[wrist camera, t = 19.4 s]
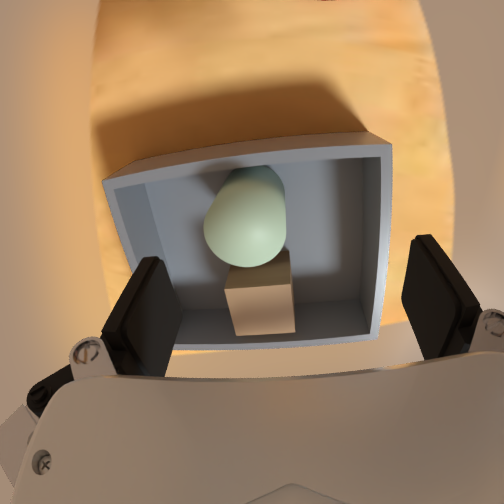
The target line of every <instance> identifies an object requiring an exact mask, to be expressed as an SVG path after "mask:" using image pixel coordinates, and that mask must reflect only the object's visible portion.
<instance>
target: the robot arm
mask: <svg viewBox="0 0 504 504" xmlns="http://www.w3.org/2000/svg"><path fill="white" fill-rule="evenodd" d="M401 300H402V304H403V307H404V309H405V312H406V314H407V316H408V319H409V321H410V324H411V326H412V329H413V331H414V334H415V336H416V339H417V341H418V344H419V346H420V349H421V352H422V355H423V357H424V361H418V362H412V363H406V364H400V365H394V366H387V367H381V368H373V369H366V370H358V371H349V372H340V373H331V374H319V375H307V376H291V377H272V378H232V379H229V378H226V379H225V378H224V379H223V378H222V379H218V378H217V379H216V378H214V379H213V378H177V377H165V373H166V370H167V366H168V363H169V360H170V357H171V353H172V350H173V347H174V344H175V340H176V337H177V334H178V331H179V328H180V324H181V321H182V311H181V308H180V305H179V302H178V300H177V297H176V294H175V291H174V289H173V286H172V283H171V280H170V277H169V274H168V271H167V268H166V265H165V263H164V261H163V260H162V259H160V258H159V257H158V256H150V257H143V258H142V259H141V261H140V263H139V264H138V266H137V268H136V270H135V271H134V273H133V275H132V276H131V278H130V280H129V282H128V283H127V285H126V287H125V289H124V290H123V292H122V294H121V296H120V297H119V299H118V301H117V303H116V305H115V306H114V308H113V310H112V312H111V314H110V316H109V318H108V319H107V321H106V323H105V325H104V327H103V329H102V331H101V332H102V335H101V337H100V338H98V337H87V338H85V339H82V340H81V341H79V342H78V343H77V344H76V345H75V346H74V347H73V348H72V350H71V352H70V355H69V361H70V364H69V365H67V366H65V367H64V368H62V369H60V370H59V371H57V372H55V373H54V374H52V375H50V376H49V377H47V378H45V379H43V380H42V381H40V382H38V383H37V384H35V385H34V386H33V387H32V388H31V390H30V391H29V393H28V395H27V405H26V406H24V405H23V404H22V405H21V406H20V407H19V408H18V409H17V410H16V411H15V412H14V413H13V414H12V415H11V416H10V417H9V418H8V419H7V420H6V421H5V422H4V423H3V424H2V425H1V426H0V464H1V466H2V468H3V470H4V472H5V473H6V475H7V477H8V479H9V480H10V482H11V484H12V485H13V487H14V491H13V495H12V499H11V503H10V504H504V312H502V311H500V310H496V309H487V310H484V311H482V309H481V307H480V303H479V302H478V300H477V298H476V297H475V295H474V294H473V292H472V291H471V289H470V288H469V286H468V285H467V283H466V282H465V280H464V279H463V277H462V276H461V274H460V273H459V272H458V270H457V269H456V267H455V266H454V264H453V263H452V262H451V260H450V259H449V257H448V256H447V255H446V253H445V252H444V251H443V249H442V248H441V247H440V245H439V244H438V243H437V241H436V240H435V239H434V237H433V236H432V235H431V234H426V235H417V236H416V237H415V239H413V240H412V241H411V245H410V252H409V258H408V264H407V269H406V275H405V280H404V285H403V290H402V296H401Z"/></svg>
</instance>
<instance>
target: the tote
mask: <svg viewBox="0 0 504 504" xmlns="http://www.w3.org/2000/svg"><path fill="white" fill-rule="evenodd" d="M260 165H263V166H266V167H268V168H270V169H272V170H273V171H274V172H275V173H276V174H277V175H278V176H279V177H280V179H281V180H282V182H283V185H284V189H285V208H286V239H285V242H284V245H283V247H282V249H281V250H280V251H289V252H290V261H291V271H292V281H293V291H294V309H295V332H293V333H279V334H263V335H243V336H236V333H235V329H234V325H233V321H232V317H231V314H230V310H229V306H228V302H227V298H226V294H225V290H224V288H225V284H226V281H227V277H228V273H229V269H230V265H231V264H229V263H227V262H225V261H223V260H222V259H220V258H219V257H218V256H216V255H215V254H214V253H213V251H212V250H211V249H210V247H209V246H208V244H207V242H206V239H205V236H204V229H203V225H204V219H205V216H206V214H207V212H208V210H209V208H210V206H211V205H212V203H213V201H214V199H215V198H216V196H217V194H218V192H219V191H220V189H221V187H222V185H223V184H224V182H225V180H226V179H227V177H228V176H229V174H230V173H231V172H232V171H234V170H235V169H236V168H243V167H252V166H260ZM102 184H103V187H104V191H105V194H106V197H107V201H108V204H109V207H110V210H111V214H112V217H113V220H114V223H115V226H116V229H117V232H118V235H119V238H120V241H121V243H122V246H123V249H124V252H125V255H126V257H127V260H128V263H129V266H130V268H131V271H132V273H134V271H135V270H136V268H137V266H138V264H139V263H140V261H141V259H142V258H143V257H150V256H158V257H159V258H160V259H162V260H163V261H164V263H165V265H166V268H167V271H168V274H169V277H170V280H171V283H172V286H173V289H174V291H175V294H176V297H177V300H178V302H179V305H180V308H181V311H182V321H181V324H180V328H179V331H178V334H177V337H176V340H175V344H174V347H173V350H251V349H274V348H292V347H305V346H319V345H330V344H340V343H350V342H359V341H367V340H375V339H378V333H379V328H380V321H381V315H382V308H383V301H384V294H385V285H386V277H387V267H388V257H389V245H390V231H391V213H392V144H391V143H389V142H387V141H385V140H384V139H382V138H380V137H378V136H376V135H374V134H372V133H371V132H369V131H366V132H340V133H323V134H308V135H296V136H286V137H276V138H267V139H258V140H250V141H242V142H235V143H228V144H221V145H215V146H209V147H203V148H197V149H191V150H186V151H180V152H175V153H170V154H165V155H160V156H155V157H150V158H146V159H141V160H137V161H133V162H132V163H130V164H128V165H127V166H125V167H123V168H122V169H120V170H118V171H117V172H115V173H113V174H112V175H110V176H109V177H107V178H105V179H104V180H102Z"/></svg>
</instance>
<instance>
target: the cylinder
mask: <svg viewBox="0 0 504 504" xmlns="http://www.w3.org/2000/svg"><path fill="white" fill-rule="evenodd" d="M203 229H204V236H205V239H206V242H207V244H208V246H209V247H210V249H211V250H212V251H213V253H214V254H215V255H216V256H218V257H219V258H220V259H222V260H223V261H225V262H227V263H229V264H232V265H235V266H239V267H254V266H259V265H262V264H264V263H266V262H268V261H270V260H271V259H273V258H274V257H275V256H276V255H277V254H278V253H279V252H280V250H281V249H282V247H283V245H284V242H285V239H286V208H285V189H284V185H283V182H282V180H281V179H280V177H279V176H278V175H277V174H276V173H275V172H274V171H273V170H272V169H270V168H268V167H266V166H263V165H260V166H252V167H243V168H236V169H235V170H234V171H232V172H231V173H230V174H229V176H228V177H227V179H226V180H225V182H224V184H223V185H222V187H221V189H220V191H219V192H218V194H217V196H216V198H215V199H214V201H213V203H212V205H211V206H210V208H209V210H208V212H207V214H206V216H205V219H204V225H203Z"/></svg>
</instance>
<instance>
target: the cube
mask: <svg viewBox="0 0 504 504" xmlns="http://www.w3.org/2000/svg"><path fill="white" fill-rule="evenodd" d="M224 290H225V294H226V298H227V302H228V306H229V310H230V314H231V317H232V321H233V325H234V329H235V333H236V336H243V335H263V334H279V333H293V332H295V309H294V291H293V281H292V271H291V261H290V252H289V251H280V252H279V253H278V254H277V255H276V256H275V257H274V258H273V259H271V260H270V261H268V262H266V263H264V264H262V265H259V266H254V267H239V266H235V265H232V264H231V265H230V269H229V273H228V277H227V281H226V284H225V288H224Z"/></svg>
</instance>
